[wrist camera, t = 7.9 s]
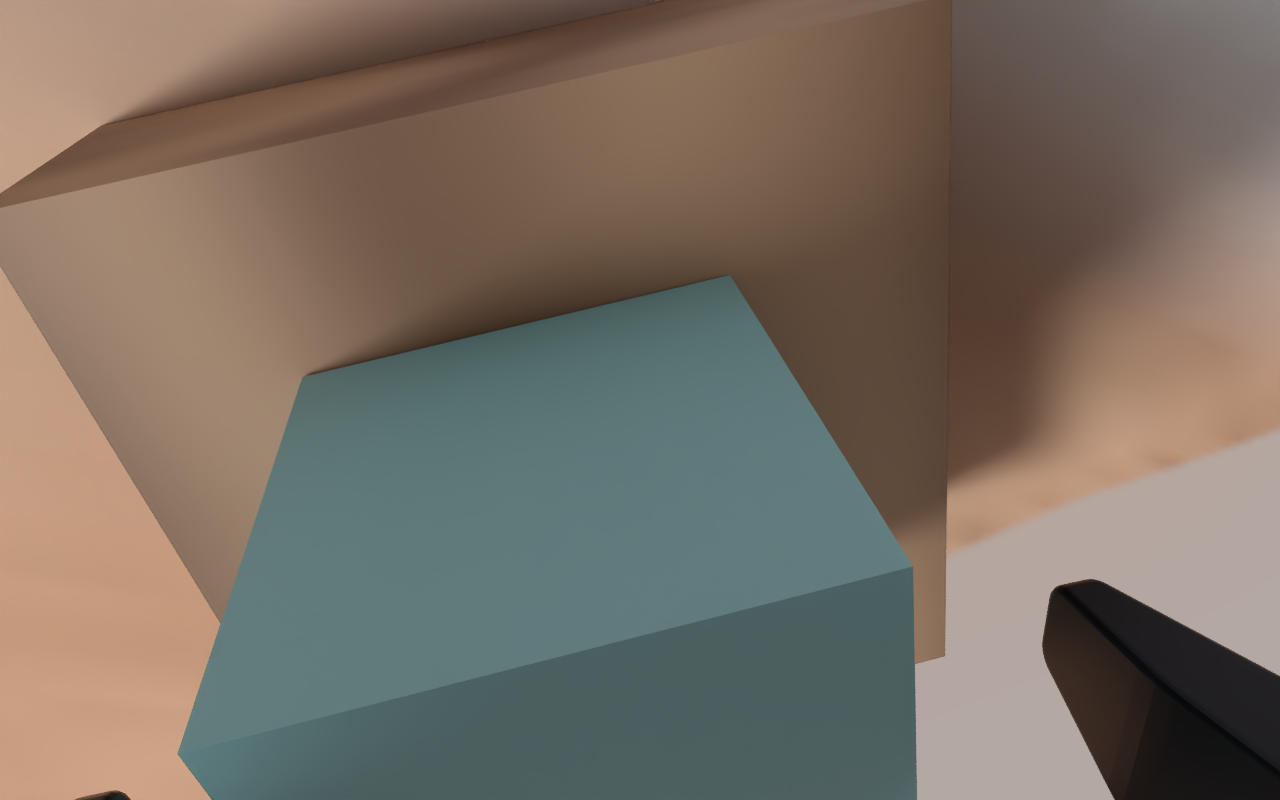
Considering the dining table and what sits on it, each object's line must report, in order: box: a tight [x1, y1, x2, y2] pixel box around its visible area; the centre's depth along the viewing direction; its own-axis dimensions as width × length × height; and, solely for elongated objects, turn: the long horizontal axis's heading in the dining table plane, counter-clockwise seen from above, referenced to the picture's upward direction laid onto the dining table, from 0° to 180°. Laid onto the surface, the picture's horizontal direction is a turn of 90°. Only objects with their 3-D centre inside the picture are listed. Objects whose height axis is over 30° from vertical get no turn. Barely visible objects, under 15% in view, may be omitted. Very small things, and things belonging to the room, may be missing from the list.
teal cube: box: [178, 275, 917, 800], centre depth 9 cm, size 5×5×5 cm
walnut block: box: [0, 0, 952, 664], centre depth 13 cm, size 10×10×4 cm
